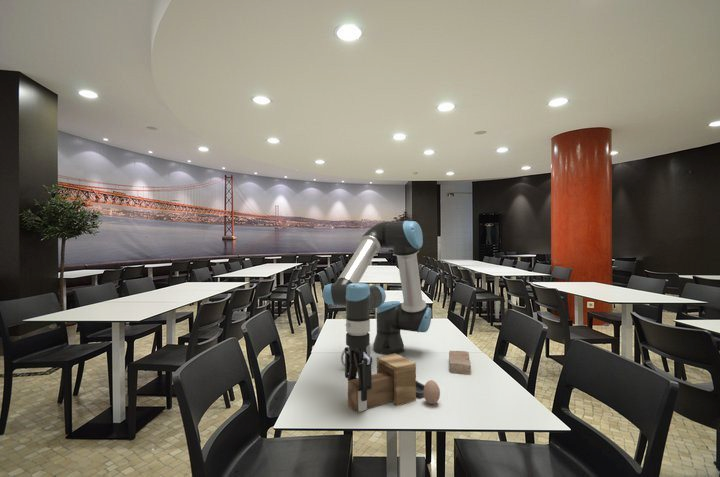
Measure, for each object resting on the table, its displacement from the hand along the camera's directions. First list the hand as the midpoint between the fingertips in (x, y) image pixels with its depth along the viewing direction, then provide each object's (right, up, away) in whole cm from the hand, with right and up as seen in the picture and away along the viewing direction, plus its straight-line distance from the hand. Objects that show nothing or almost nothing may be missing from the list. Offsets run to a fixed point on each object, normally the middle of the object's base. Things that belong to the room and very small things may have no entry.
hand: (357, 406), depth 105 cm
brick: (+43, -2, +35) cm, 55 cm away
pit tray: (+20, -1, +12) cm, 24 cm away
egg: (+24, -1, +3) cm, 24 cm away
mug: (-1, -1, +33) cm, 33 cm away
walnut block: (+5, 0, +3) cm, 5 cm away
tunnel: (+13, -1, +8) cm, 15 cm away
